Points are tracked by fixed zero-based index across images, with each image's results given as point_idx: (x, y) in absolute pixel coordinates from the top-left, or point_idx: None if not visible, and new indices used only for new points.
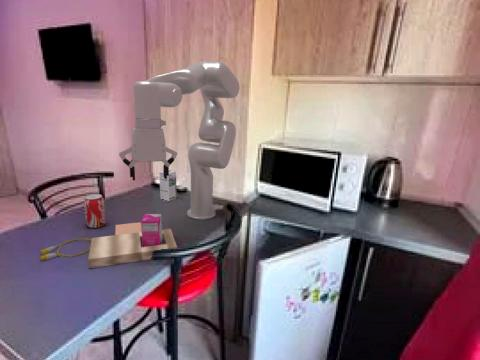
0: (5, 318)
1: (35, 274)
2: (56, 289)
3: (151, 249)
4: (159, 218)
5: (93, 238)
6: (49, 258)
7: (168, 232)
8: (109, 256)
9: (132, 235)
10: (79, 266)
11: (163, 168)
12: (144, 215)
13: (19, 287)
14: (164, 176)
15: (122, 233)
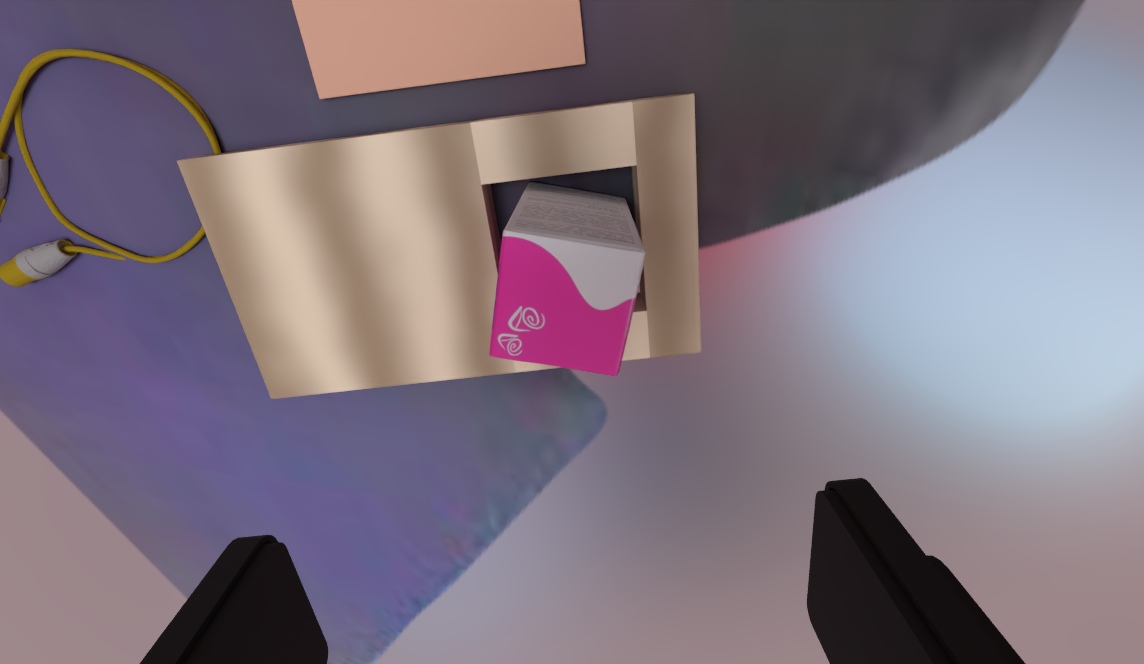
0: (166, 575)
1: (87, 382)
2: (235, 482)
3: None
4: (626, 332)
5: (189, 170)
6: (55, 272)
7: (672, 157)
8: (363, 388)
9: (432, 164)
10: (243, 352)
11: (914, 649)
12: (504, 258)
13: (90, 452)
14: (823, 628)
15: (344, 11)
